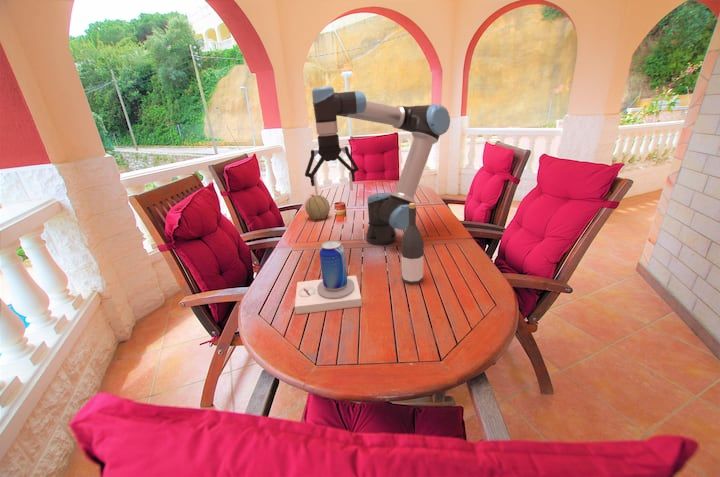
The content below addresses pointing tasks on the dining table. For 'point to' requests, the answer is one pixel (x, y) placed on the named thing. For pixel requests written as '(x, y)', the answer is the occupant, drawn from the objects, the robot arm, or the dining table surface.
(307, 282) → the scale
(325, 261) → the beer can
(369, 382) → the dining table surface
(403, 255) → the wine bottle
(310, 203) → the cantaloupe
